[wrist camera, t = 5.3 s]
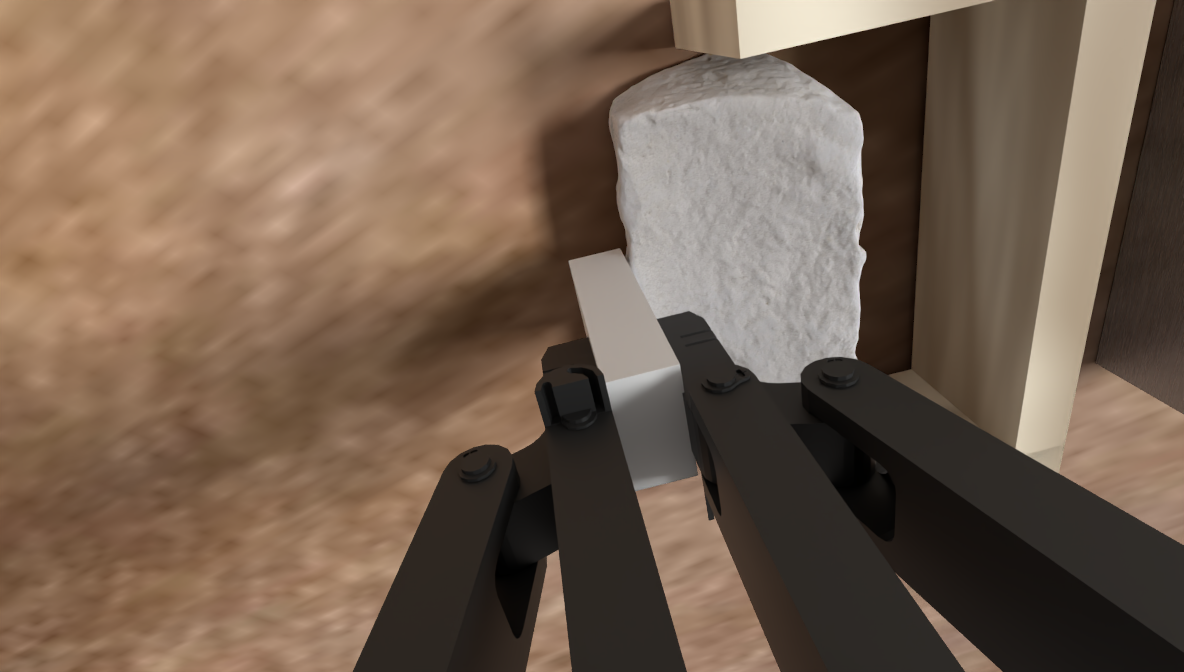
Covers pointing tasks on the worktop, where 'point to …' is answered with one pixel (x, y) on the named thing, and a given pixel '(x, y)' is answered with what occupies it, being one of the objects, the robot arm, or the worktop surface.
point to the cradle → (991, 183)
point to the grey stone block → (745, 207)
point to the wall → (1154, 247)
